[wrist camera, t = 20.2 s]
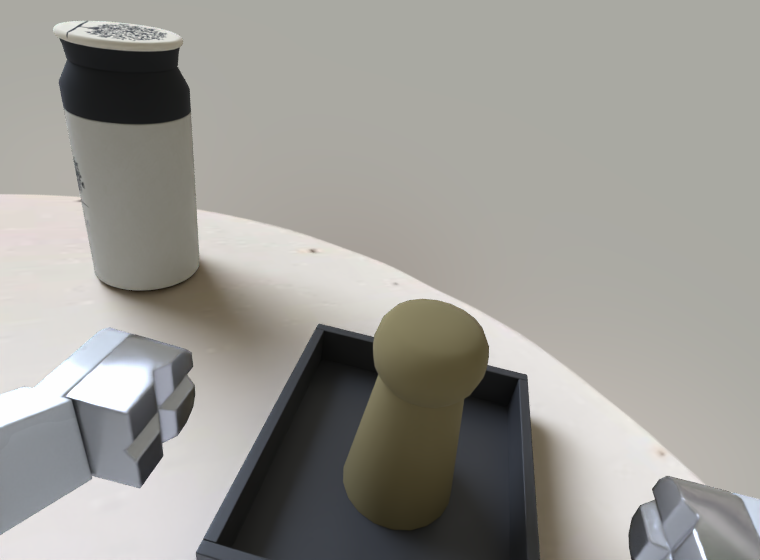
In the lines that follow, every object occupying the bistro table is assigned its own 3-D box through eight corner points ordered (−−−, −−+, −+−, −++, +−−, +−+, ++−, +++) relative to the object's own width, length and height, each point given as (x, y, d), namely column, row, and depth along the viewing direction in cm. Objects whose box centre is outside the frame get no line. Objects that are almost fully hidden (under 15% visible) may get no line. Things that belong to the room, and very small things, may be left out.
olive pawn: (464, 462, 29) (520, 310, 23) (429, 552, 24) (488, 389, 18) (372, 418, 31) (401, 267, 25) (321, 495, 26) (343, 329, 20)
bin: (523, 691, 20) (547, 658, 19) (199, 591, 22) (195, 552, 20) (514, 407, 34) (527, 374, 32) (315, 357, 35) (318, 322, 34)
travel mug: (207, 247, 46) (197, 32, 36) (188, 297, 39) (170, 49, 30) (114, 240, 44) (78, 15, 35) (78, 291, 38) (22, 29, 28)
